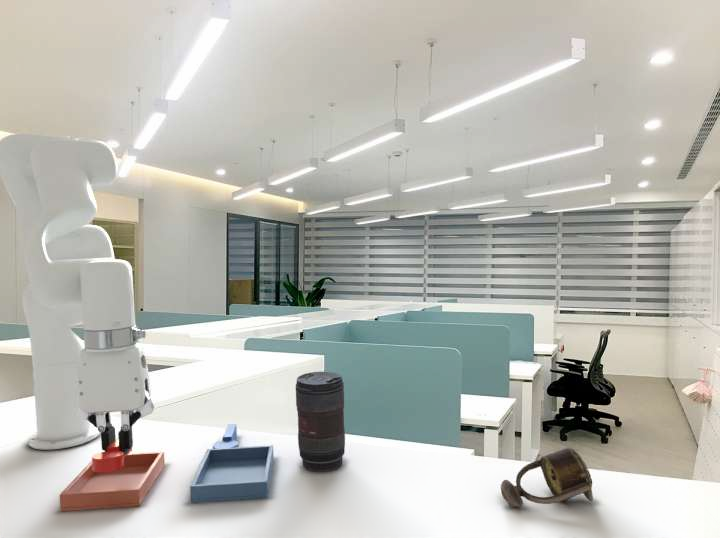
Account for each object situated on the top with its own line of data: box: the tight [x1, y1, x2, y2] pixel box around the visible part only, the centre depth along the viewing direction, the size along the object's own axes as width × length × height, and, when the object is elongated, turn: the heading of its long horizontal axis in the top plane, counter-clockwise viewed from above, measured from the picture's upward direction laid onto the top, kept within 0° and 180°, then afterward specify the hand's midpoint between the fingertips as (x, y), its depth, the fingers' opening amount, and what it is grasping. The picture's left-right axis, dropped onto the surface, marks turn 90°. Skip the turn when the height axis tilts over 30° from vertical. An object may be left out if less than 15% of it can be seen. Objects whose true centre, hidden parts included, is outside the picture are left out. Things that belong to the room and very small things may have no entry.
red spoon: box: [91, 438, 133, 473], centre depth 92 cm, size 11×4×3 cm, turn 5°
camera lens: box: [295, 371, 346, 472], centre depth 98 cm, size 8×8×15 cm
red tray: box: [59, 451, 166, 512], centre depth 92 cm, size 15×11×2 cm
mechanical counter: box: [500, 446, 594, 508], centre depth 84 cm, size 7×13×10 cm
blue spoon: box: [212, 423, 239, 449], centre depth 107 cm, size 11×4×3 cm, turn 5°
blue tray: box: [189, 444, 275, 504], centre depth 94 cm, size 15×11×2 cm
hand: (117, 452), depth 93 cm, fingers closed on red spoon, 1 cm apart
